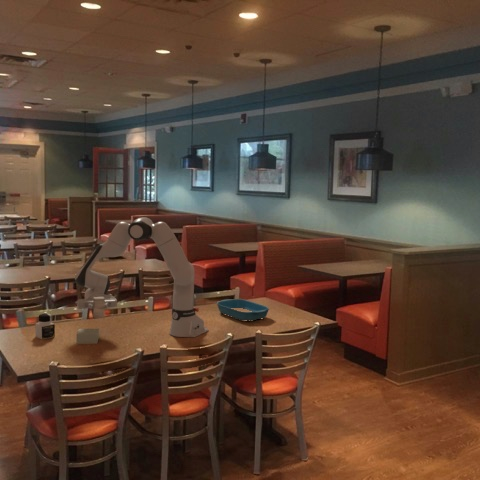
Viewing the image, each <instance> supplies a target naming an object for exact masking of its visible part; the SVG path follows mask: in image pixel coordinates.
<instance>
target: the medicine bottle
mask: <svg viewBox="0 0 480 480" xmlns="http://www.w3.org/2000/svg"><path fill="white" fill-rule="evenodd" d="M55 326H56V325H55V323H54V322H52V315H51V314H50V313H40V314H38V322H36V323H35V333H34V334H35V337H36V338H38V339H40V340H46V339H47V338H48V339H53V338H55V336H56V333H55V330H56V329H55V328H56V327H55Z"/></svg>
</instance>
